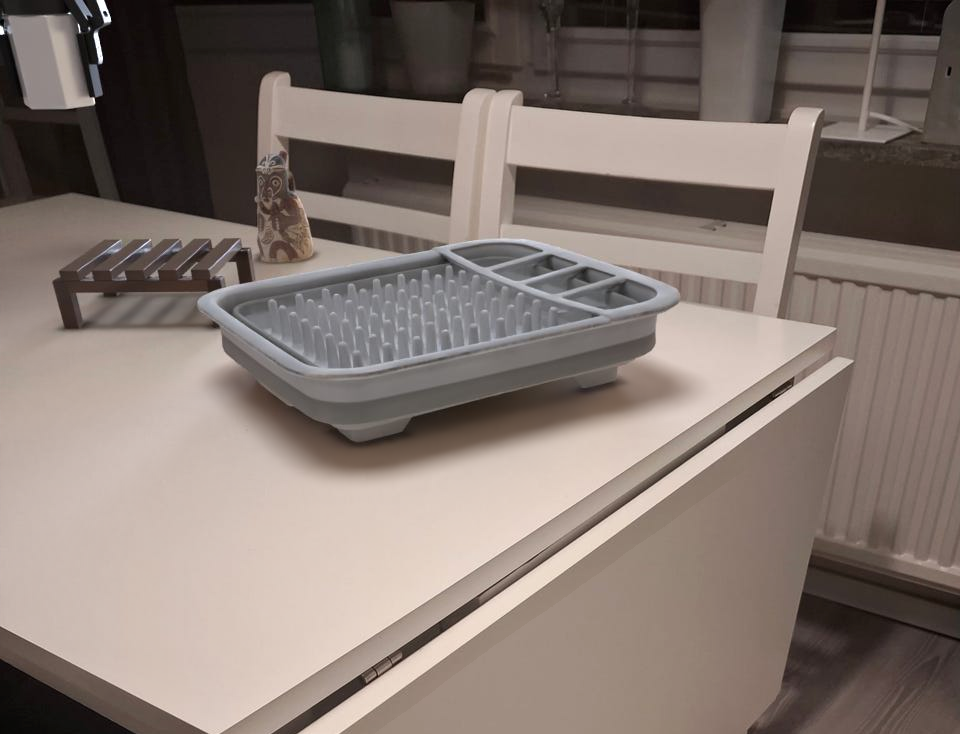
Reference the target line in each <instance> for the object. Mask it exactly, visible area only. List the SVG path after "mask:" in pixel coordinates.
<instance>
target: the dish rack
mask: <svg viewBox="0 0 960 734" xmlns="http://www.w3.org/2000/svg"><path fill="white" fill-rule="evenodd" d="M681 299H682V296H681V292H680V291H679V290H678V289H677V288H676V287H674V286H672V285H670V284H668V283H665V282H663V281H660V280H658V279H655V278H653V277H650V276H647V275H645V274H641V273H638V272H636V271H633V270H630V269H627V268H624V267H621V266H619V265H618V266H617V265H615V264H611V263H609V262H606V261H602V260H599V259H596V258H592V257H590V256H586V255H583V254H580V253H577V252H574V251H571V250H568V249H565V248H561V247H559V246H555V245H552V244H547V243H544V242H541V241H536V240H532V239H523V238H485V239H476V240H475V239H473V240H469V241H463V242H457V243H452V244H446V245H441V246H435V247H432V248H431V249H429V250H424V251H418V252H412V253H406V254H401V255H395V256H389V257H383V258H379V259H373V260H367V261H362V262H356V263H351V264H345V265H339V266H334V267H329V268H322V269H317V270H312V271H305V272H301V273H300V272H299V273H293V274H289V275H283V276H277V277H272V278H267V279H260V280H256V281H255V282H249V283H244V284H239V283H238V284H234V285H229V286H226V287H225V288H222V289H218V290H215V291H212V292H210V293H208V292H207V293H205V294H204V295H201V296H200V297H199V298H198V299H197V301H196V308H197V310H199V312H201V313H202V314H204V315H205V316H206V317H208V318H209V319H210V320H212V322H213V321H215V322H216V323H217V324H219V326H220V328H219V329H220V330H219V331H220V335H221V346H222V349H223V352H224V353H225V354H226V355H227V356H228V357H229V358H230V359H232V360H233V361H234V362H236V364H237V365H238V366H240V367H241V368H242V369H244V370H245V371H247V372H248V373H249V374H250V375H251V376H253V377H255V379H256V380H257V382H258V383H259V384H260V385H261V386H262V387H264V388H265V389H266V390H267V391H269V392H270V393H271V394H272V395H274V396H275V398H278V399H279V400H280V401H282V402H283V403H284V404H285V405H287V406H289V407H294V408H295V409H297V410H299V412H302V413H303V414H304V415H305V416H307V417H309V418H310V419H312V420H314V421H316V422H320V423H323V424H328V425H331V426H332V427H333V428H336V429H337V430H338V432H339V433H340V434H342V435H343V436H345V437H346V438H347V439H349V440H350V441H351V442H355V443H363V442H368V441H372V440H376V439H381V438H384V437H388V436H391V435H395V434H399V433H403V431H404V430H405V428H406V427H407V425H408V424H409V423H410V421H411V420H412V418H414V417H417V416H421V415H425V414H428V413H433V412H437V411H441V410H444V409H449V408H452V407H455V406H456V407H457V406H459V405H463V404H467V403H471V402H476V401H480V400H483V399H487V398H491V397H495V396H499V395H503V394H507V393H511V392H515V391H520V390H523V389H527V388H531V387H532V388H533V387H536V386H540V385H544V384H547V383H552V382H557V381H560V380H565V379H569V378H572V379H573V380H574V381H575V382H576V383H577V384H578V385H579V386H580V387H581V388H583V389H587V388H591V387H596V386H600V385H605V384H608V383H613V382H615V381H617V380H618V369H619V367H621V366H624V365H627V364H630V363H632V362H634V361H635V360H636V359H638V358H640V357H644V356H645V355H647V354H649V353H650V352H652V351H653V349H654V348H655V346H656V344H657V335H656V333H657V332H656V331H657V321H658V315H660V314H661V315H662V314H663V313H666V312H668V311H669V310H671V309H673V308H674V307H676V306H677V305H679V303H680V302H681Z"/></svg>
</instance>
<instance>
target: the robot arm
mask: <svg viewBox="0 0 960 734" xmlns="http://www.w3.org/2000/svg"><path fill="white" fill-rule="evenodd" d="M64 1H65V3H66V5H67V7H68V8H69V10H70V11H71V13H72V15H73V16H74V18H75V19H76V21H77V23H78V24H79V28H80V33H79V34H76V36H77V41H78V46H79V50H80V55H81V60H82V64H83V69H84V74H85V78H86V83H87V88H88V92H89V97H90V98H94V99H95V98H98V97H101V96H103V94H104V93H103V89H102V84H101V79H100V74H99V69H98V65H102V64H103V60H104V59H103V57H104V56H103V52H102V47H101V44H100V38H99V31H100V29H102V28H104V27H106V26H109V25H111V22H112V20H111V16H110V13H109V10H108V8H107V5H106V2H105V0H85V1H86V3H87V5H86V4H85V2H84V0H64ZM87 6H88V7H87ZM3 15H5V14H3V10H2V6H1V2H0V67H1V66H3V67H4V68H5V71H6V76H7V79H8V84H9V88H10V91H11V95H12V98H13V99H22V98H23V94H22V90H21V86H20V82H19V78H18V74H17V70H16V66H15V62H14V58H13V54H12V50H11V46H10V42H9V38H8V34H7V30H6V26H5V22H4V18H3Z"/></svg>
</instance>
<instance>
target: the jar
mask: <svg viewBox="0 0 960 734" xmlns="http://www.w3.org/2000/svg"><path fill="white" fill-rule="evenodd" d="M0 2H1V6H2V10H3V14H5V15H3V18H4V22H5V29H6V30H7V31H6V34H8V38H9V42H10V46H11V50H12V54H13V58H14V62H15V66H16V70H17V74H18V78H19V82H20V86H21V90H22V94H23V97H22V98H23V103H24V105H25V106H27V107H28V108H29V109H31V110H68V109H75V108H77V109H78V108H84V107H91V106H95V104H96V101H95V98H90V97H89V92H88V88H87V83H86V78H85V74H84V69H83V64H82V60H81V55H80V50H79V46H78V41H77V36H76V34H79V33H81V31H80V30H81V27H80V26H79V24H78V23H77V21H76V19H75V18H74V16H73V15H72V13H71V11H70V10H69V8H68V7H67V5H66V3H65V1H64V0H0Z"/></svg>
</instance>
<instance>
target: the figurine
mask: <svg viewBox="0 0 960 734" xmlns="http://www.w3.org/2000/svg"><path fill="white" fill-rule="evenodd" d="M288 154H289V153H288V152H287V151H285V150H280V151H279V154H274V153H273V154H272V153H270V154H265V156H263V158H262V159H261V161H259V163H258V165H257V166H256V168H255V173H256V175H257V185H258V195H256V196H255V197H254V202H255V204H257V209H256V217H257V219H256V220H257V222H256V223H257V238H256V243H257V247H258V250H259V256H260V260H261V261H262V262H265V263H272V264H274V263H275V264H278V263H283V264H284V263H296V262H302V261H305V260H308V259H310V258H311V257H313V254H314V246H313V245H314V244H313V238H312V234H311V228H310V224H309V220H308V217H307V213H306V210H305V207H304V205H303V202H302V201H301V199H300V198H299V196H298V195H297V194H296V184H295V180H294V174H293V173H292V172H291V171H290V169H289V168H287V160H288Z"/></svg>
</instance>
